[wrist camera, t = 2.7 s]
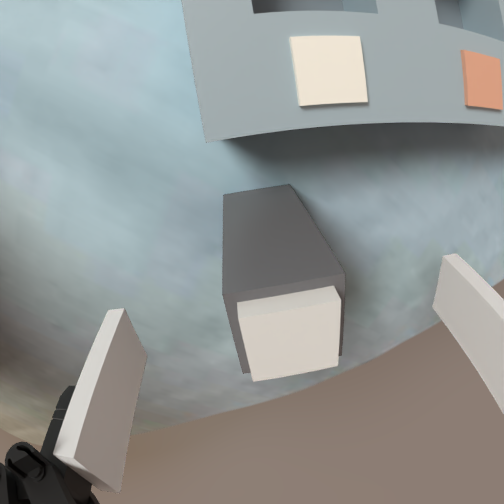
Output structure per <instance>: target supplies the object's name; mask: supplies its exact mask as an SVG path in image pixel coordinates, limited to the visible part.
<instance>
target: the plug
mask: <svg viewBox="0 0 504 504" xmlns="http://www.w3.org/2000/svg"><path fill="white" fill-rule="evenodd" d="M222 295H223V299H224V303H225V307H226V311H227V315H228V319H229V323H230V327H231V330H232V334H233V338H234V342H235V346H236V350H237V353H238V357H239V361H240V365H241V368H242V372H243V374H244V373H251V375H252V379H253V382H254V381H261V380H267V379H274V378H280V377H285V376H291V375H296V374H302V373H307V372H312V371H317V370H321V369H326V368H331V367H335V366H338V356H342V343H343V326H344V304H345V272H344V270H343V268H342V267H341V265H340V263H339V262H338V260H337V258H336V257H335V255H334V254H333V252H332V250H331V249H330V247H329V245H328V244H327V242H326V240H325V239H324V237H323V236H322V234H321V232H320V231H319V229H318V228H317V226H316V225H315V223H314V221H313V220H312V218H311V217H310V215H309V214H308V212H307V210H306V209H305V207H304V206H303V204H302V203H301V201H300V200H299V198H298V197H297V195H296V193H295V192H294V190H293V189H292V187H291V186H290V184H288V185H281V186H274V187H268V188H261V189H255V190H249V191H243V192H237V193H231V194H225V195H223V267H222Z"/></svg>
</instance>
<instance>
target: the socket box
mask: <svg viewBox="0 0 504 504" xmlns="http://www.w3.org/2000/svg"><path fill="white" fill-rule="evenodd" d="M181 1H182V7H183V14H184V20H185V26H186V32H187V39H188V45H189V51H190V57H191V62H192V68H193V74H194V80H195V86H196V91H197V97H198V103H199V108H200V114H201V119H202V125H203V130H204V135H205V141H206V143H208V142H213V141H218V140H224V139H230V138H236V137H242V136H249V135H255V134H262V133H270V132H277V131H285V130H294V129H303V128H313V127H323V126H336V125H350V124H368V123H397V122H438V123H466V124H482V125H495V126H504V0H181Z"/></svg>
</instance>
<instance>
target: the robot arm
mask: <svg viewBox="0 0 504 504" xmlns="http://www.w3.org/2000/svg"><path fill="white" fill-rule="evenodd" d="M432 308H433V309H434V310H435V312H436V313H437V314H438V316H439V317H440V318H441V320H442V321H443V322H444V324H445V325H446V326H447V328H448V329H449V331H450V332H451V333H452V335H453V336H454V338H455V339H456V340H457V342H458V343H459V345H460V346H461V348H462V349H463V351H464V352H465V353H466V355H467V356H468V358H469V359H470V361H471V362H472V364H473V365H474V367H475V368H476V370H477V372H478V373H479V375H480V376H481V378H482V379H483V381H484V382H485V384H486V386H487V387H488V389H489V390H490V392H491V394H492V395H493V397H494V399H495V400H496V402H497V404H498V405H499V407H500V409H501V411H502V412H503V414H504V300H503V299H502V298H501V296H500V295H499V294H498V293H497V292H496V291H495V290H494V289H493V288H492V287H491V286H490V285H489V284H488V283H487V282H486V281H485V280H484V279H483V278H482V277H481V276H480V275H479V274H478V273H477V272H476V271H475V270H474V269H472V268H471V267H470V266H469V265H468V264H467V263H466V262H465V261H464V260H463V259H462V258H461V257H460V256H459V255H457V254H456V253H455V254H450V255H445V256H443V258H442V263H441V269H440V274H439V279H438V284H437V289H436V294H435V298H434V303H433V307H432ZM146 360H147V354H146V352H145V350H144V348H143V346H142V344H141V342H140V340H139V338H138V336H137V334H136V332H135V330H134V328H133V326H132V323H131V321H130V319H129V317H128V315H127V313H126V310H125V308H122V309H113V310H108V312H107V314H106V316H105V318H104V320H103V323H102V325H101V327H100V329H99V332H98V334H97V336H96V338H95V341H94V343H93V345H92V348H91V350H90V352H89V355H88V357H87V360H86V362H85V365H84V367H83V370H82V372H81V375H80V377H79V380H78V382H77V385H76V386H68V387H67V389H66V390H65V391H64V392H63V394H62V395H61V396H60V399H59V401H58V404H57V406H56V410H55V412H54V414H53V417H52V418H53V420H51V423H50V425H49V428H48V431H47V434H46V437H45V440H44V443H43V446H42V449H41V452H38V451H37V450H36V449H35V448H33V446H31V445H30V444H28V443H27V442H19V443H16V444H14V445H13V446H12V447H11V448H10V449H9V451H8V452H7V454H6V458H5V466H4V465H3V464H2V463H0V504H99V502H98V500H97V499H96V497H95V495H94V494H93V493H92V492H91V486H92V485H94V486H95V487H96V488H98V489H99V490H101V491H107V492H114V493H120V491H121V484H122V478H123V471H124V466H125V460H126V454H127V448H128V443H129V438H130V433H131V428H132V423H133V418H134V413H135V408H136V404H137V399H138V395H139V390H140V386H141V381H142V377H143V373H144V369H145V364H146Z"/></svg>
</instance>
